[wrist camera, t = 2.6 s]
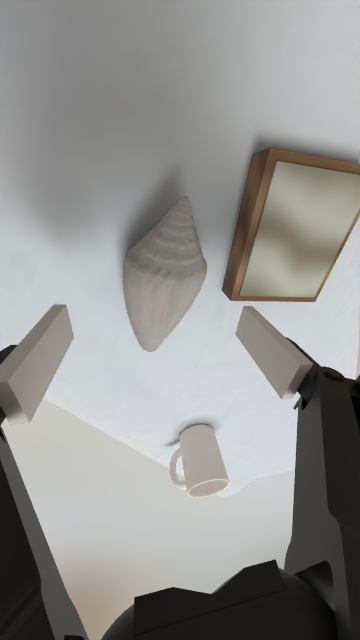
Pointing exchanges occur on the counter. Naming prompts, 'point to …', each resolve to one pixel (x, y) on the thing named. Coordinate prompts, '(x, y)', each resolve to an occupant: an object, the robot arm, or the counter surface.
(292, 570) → the robot arm
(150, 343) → the seashell
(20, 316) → the counter surface
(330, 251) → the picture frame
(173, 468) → the mug
